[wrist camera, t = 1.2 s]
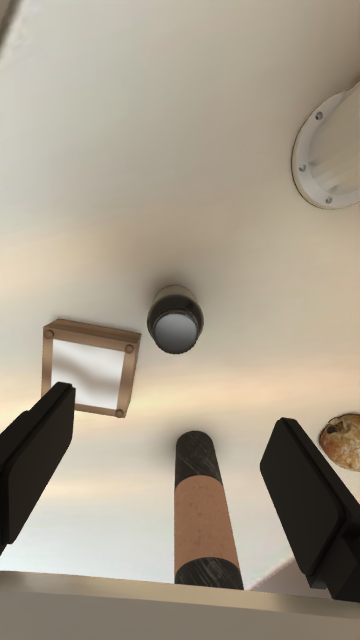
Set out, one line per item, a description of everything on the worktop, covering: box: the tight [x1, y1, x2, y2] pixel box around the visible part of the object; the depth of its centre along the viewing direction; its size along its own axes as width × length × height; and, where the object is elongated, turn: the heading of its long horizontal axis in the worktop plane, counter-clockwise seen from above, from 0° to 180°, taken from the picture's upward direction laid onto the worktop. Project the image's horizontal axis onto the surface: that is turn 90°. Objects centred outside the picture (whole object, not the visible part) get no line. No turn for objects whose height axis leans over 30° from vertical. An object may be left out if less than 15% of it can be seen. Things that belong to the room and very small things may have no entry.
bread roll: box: [320, 415, 360, 472], centre depth 38 cm, size 10×10×8 cm
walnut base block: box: [41, 319, 141, 418], centre depth 33 cm, size 13×13×4 cm
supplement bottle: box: [147, 285, 204, 354], centre depth 27 cm, size 7×7×12 cm
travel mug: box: [174, 431, 244, 590], centre depth 31 cm, size 8×8×20 cm
